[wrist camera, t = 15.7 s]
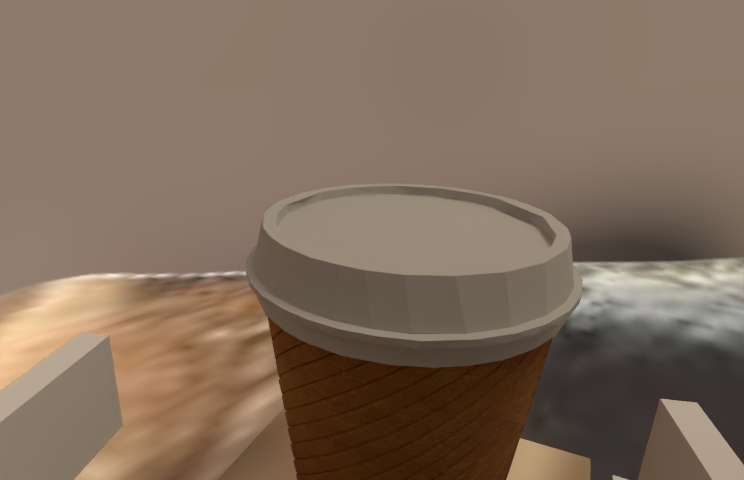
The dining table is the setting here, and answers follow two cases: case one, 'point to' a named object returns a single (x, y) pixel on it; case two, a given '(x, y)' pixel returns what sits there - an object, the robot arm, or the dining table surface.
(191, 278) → the dining table surface
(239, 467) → the oak coaster
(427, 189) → the disposable coffee cup
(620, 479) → the mat
